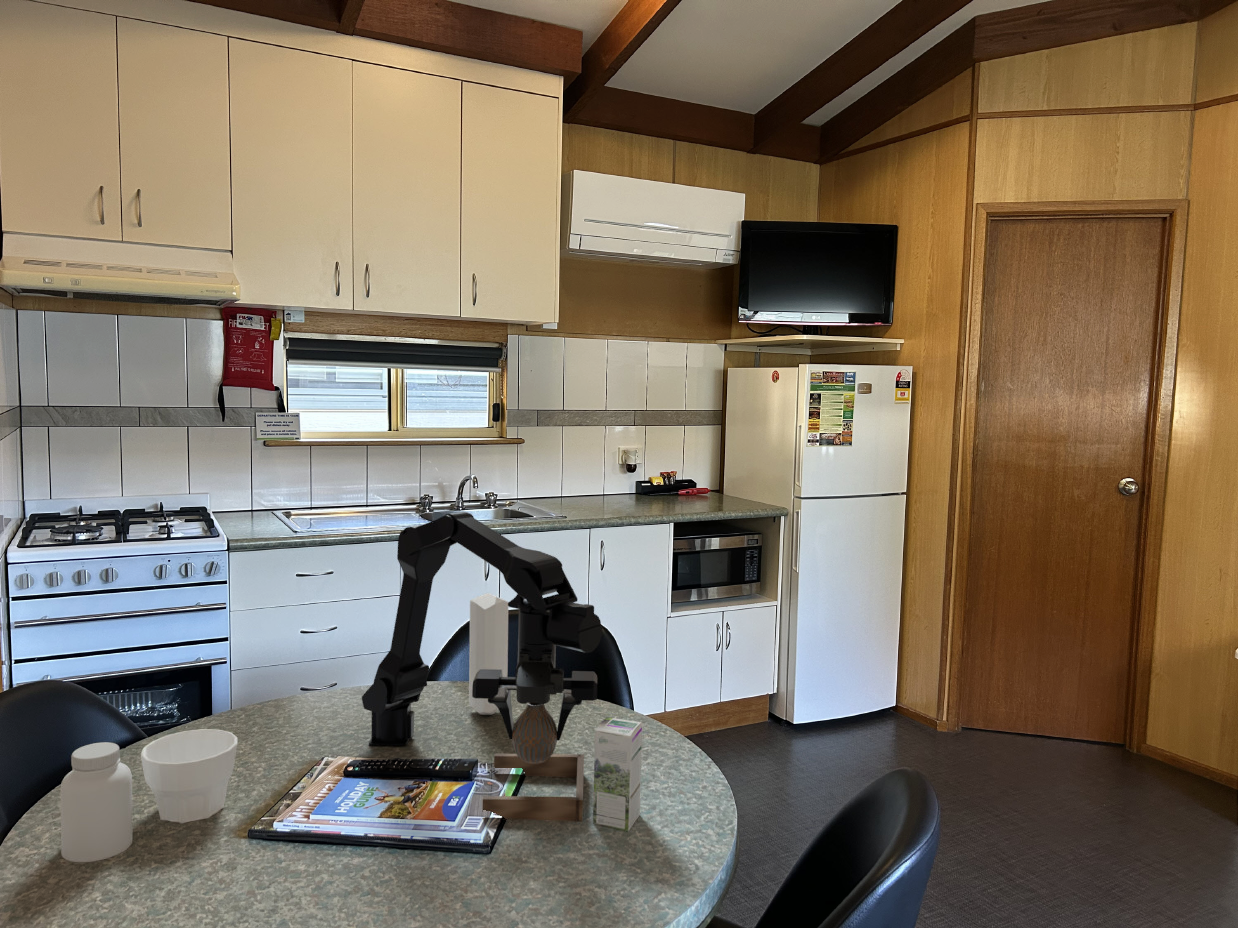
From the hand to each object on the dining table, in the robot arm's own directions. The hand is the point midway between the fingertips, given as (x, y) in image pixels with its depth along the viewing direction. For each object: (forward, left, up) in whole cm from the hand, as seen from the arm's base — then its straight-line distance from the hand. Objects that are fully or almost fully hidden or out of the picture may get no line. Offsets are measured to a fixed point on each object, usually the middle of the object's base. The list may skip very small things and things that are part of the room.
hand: (534, 738), depth 133 cm
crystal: (-11, +33, -10) cm, 36 cm away
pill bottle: (-55, -19, -10) cm, 59 cm away
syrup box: (+13, -7, -10) cm, 17 cm away
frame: (0, 0, -9) cm, 9 cm away
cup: (-48, -8, -10) cm, 50 cm away
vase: (0, 0, -3) cm, 3 cm away
